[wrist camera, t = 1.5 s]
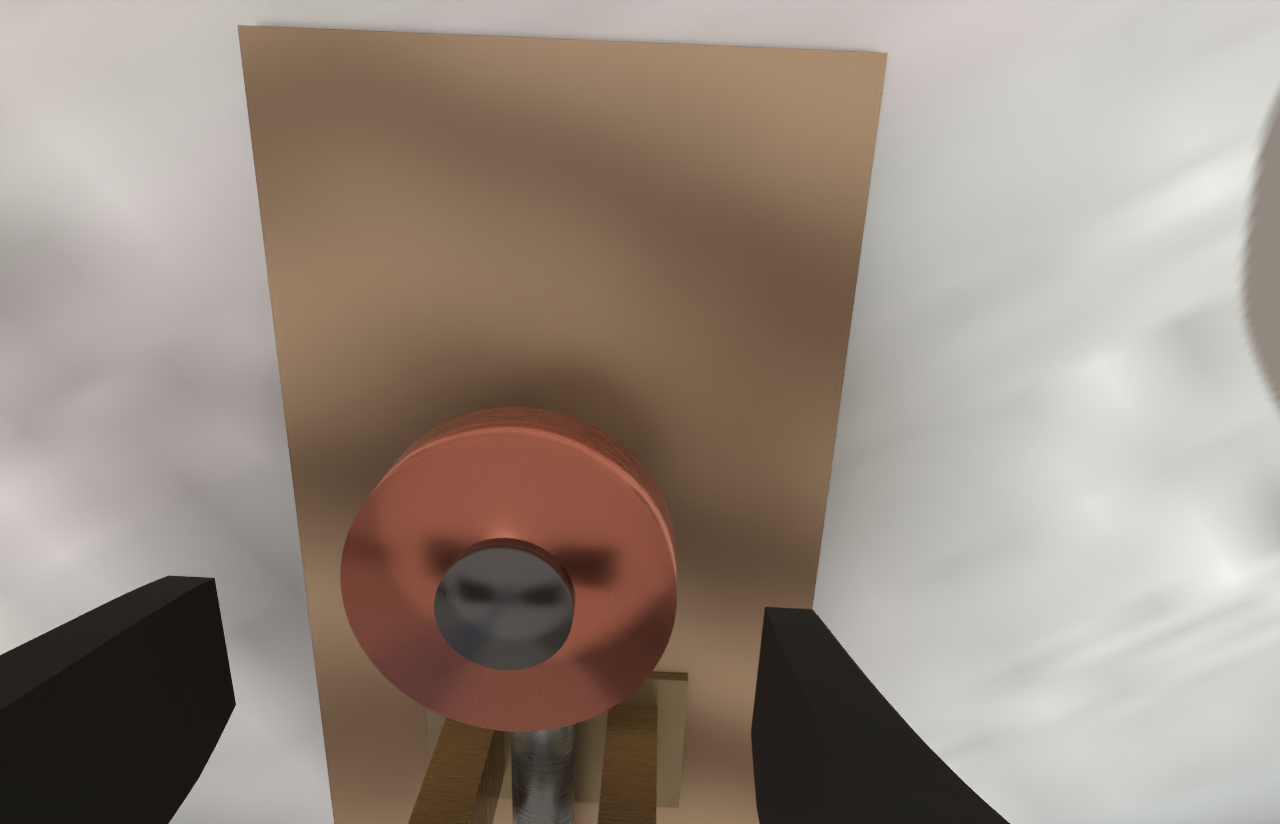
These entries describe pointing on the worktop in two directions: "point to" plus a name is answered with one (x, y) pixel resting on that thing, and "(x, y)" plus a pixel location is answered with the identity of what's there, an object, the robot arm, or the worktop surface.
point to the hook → (515, 584)
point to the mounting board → (565, 320)
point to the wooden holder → (604, 768)
